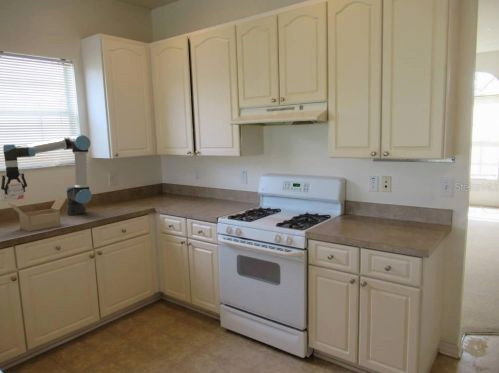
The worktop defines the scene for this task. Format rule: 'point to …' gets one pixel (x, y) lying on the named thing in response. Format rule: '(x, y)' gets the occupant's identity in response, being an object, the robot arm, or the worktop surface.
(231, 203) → the worktop surface
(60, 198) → the flap
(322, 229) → the worktop surface
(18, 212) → the flap
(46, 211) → the carton
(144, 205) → the worktop surface
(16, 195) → the ink box
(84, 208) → the robot arm
